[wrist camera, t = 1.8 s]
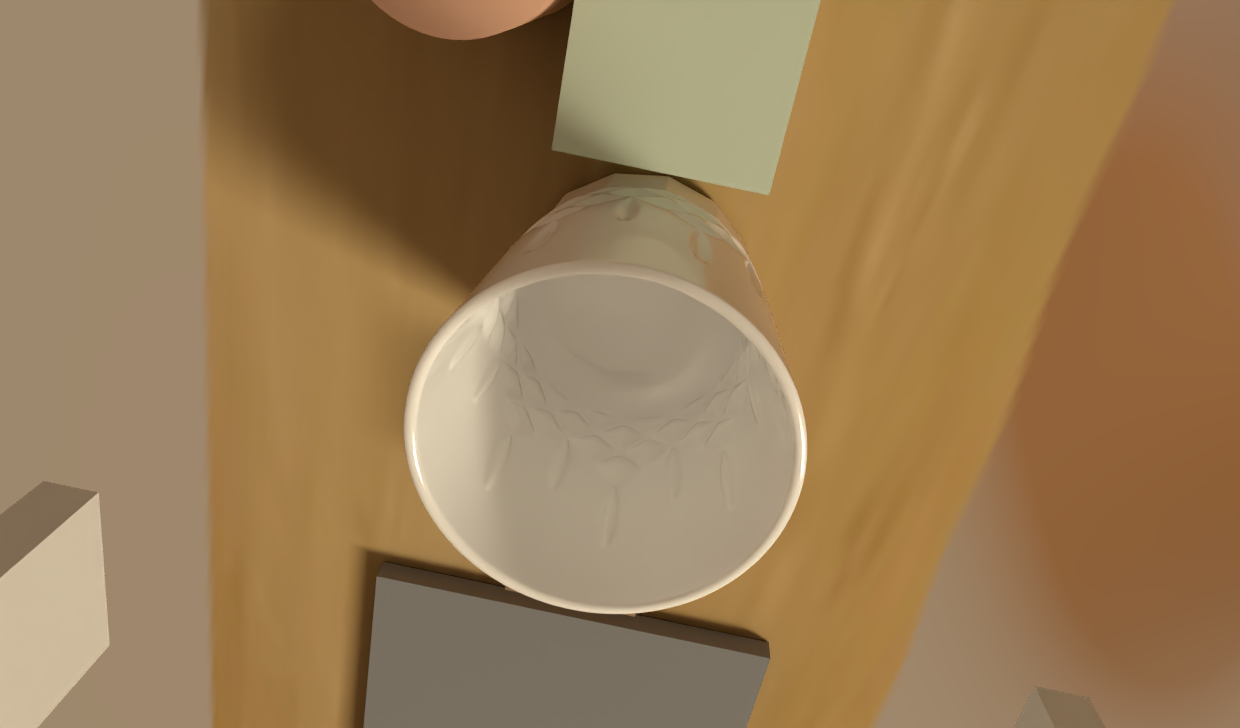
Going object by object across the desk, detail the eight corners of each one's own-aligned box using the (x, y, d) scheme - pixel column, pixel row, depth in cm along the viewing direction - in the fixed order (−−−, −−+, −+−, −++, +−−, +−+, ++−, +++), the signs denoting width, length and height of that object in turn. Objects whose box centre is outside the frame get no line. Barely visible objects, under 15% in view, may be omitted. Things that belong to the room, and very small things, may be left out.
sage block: (612, -85, 22) (589, -97, 18) (806, -45, 22) (832, -46, 18) (580, 114, 24) (551, 150, 20) (757, 151, 24) (768, 195, 20)
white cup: (538, 115, 24) (439, 208, 15) (809, 194, 25) (871, 332, 16) (483, 363, 28) (376, 559, 19) (722, 429, 28) (732, 655, 19)
